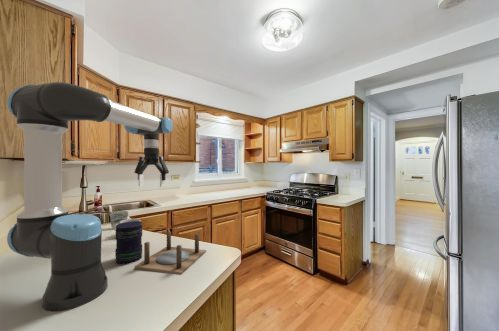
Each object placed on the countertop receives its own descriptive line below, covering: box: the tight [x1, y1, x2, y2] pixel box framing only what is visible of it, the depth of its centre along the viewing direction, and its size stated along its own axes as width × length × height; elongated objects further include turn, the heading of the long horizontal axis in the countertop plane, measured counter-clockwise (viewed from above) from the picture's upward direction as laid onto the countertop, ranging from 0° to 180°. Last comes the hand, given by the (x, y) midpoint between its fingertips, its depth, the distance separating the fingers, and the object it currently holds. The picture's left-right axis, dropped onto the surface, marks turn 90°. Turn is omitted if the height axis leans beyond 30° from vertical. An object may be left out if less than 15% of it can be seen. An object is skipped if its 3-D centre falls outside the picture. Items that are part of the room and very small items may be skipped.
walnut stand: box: [134, 230, 207, 275], centre depth 86 cm, size 20×20×10 cm
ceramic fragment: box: [108, 210, 129, 229], centre depth 134 cm, size 11×3×10 cm, turn 132°
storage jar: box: [114, 221, 144, 265], centre depth 87 cm, size 10×10×15 cm
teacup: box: [113, 218, 142, 232], centre depth 118 cm, size 14×11×8 cm
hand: (151, 186), depth 114 cm, fingers open, 13 cm apart
